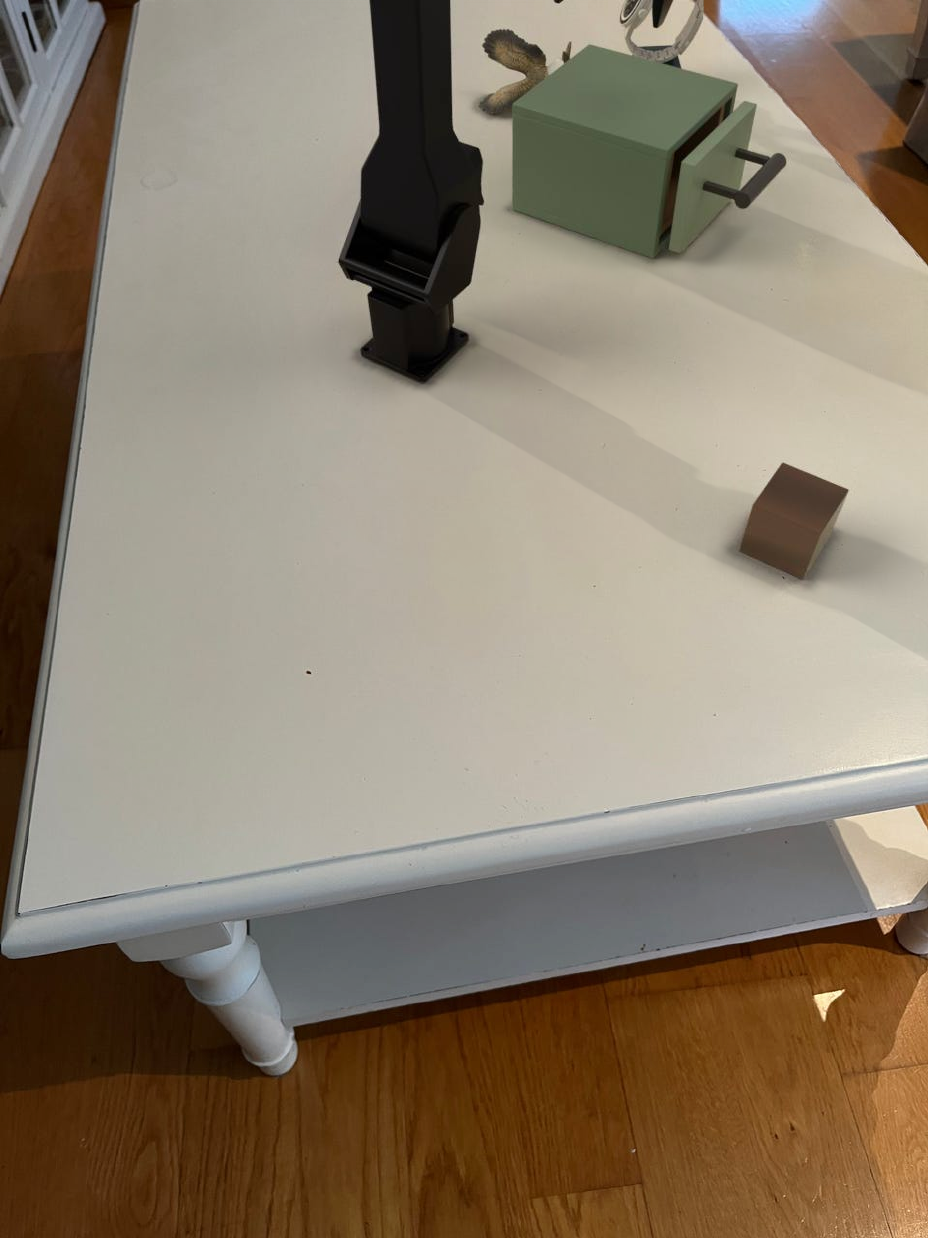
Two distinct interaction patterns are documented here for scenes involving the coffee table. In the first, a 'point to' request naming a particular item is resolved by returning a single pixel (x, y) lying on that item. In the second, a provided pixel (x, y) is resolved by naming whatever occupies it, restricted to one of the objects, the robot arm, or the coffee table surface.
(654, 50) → the watch
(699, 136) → the drawer
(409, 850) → the coffee table surface
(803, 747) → the coffee table surface
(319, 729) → the coffee table surface
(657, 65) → the cabinet
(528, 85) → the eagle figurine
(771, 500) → the block
